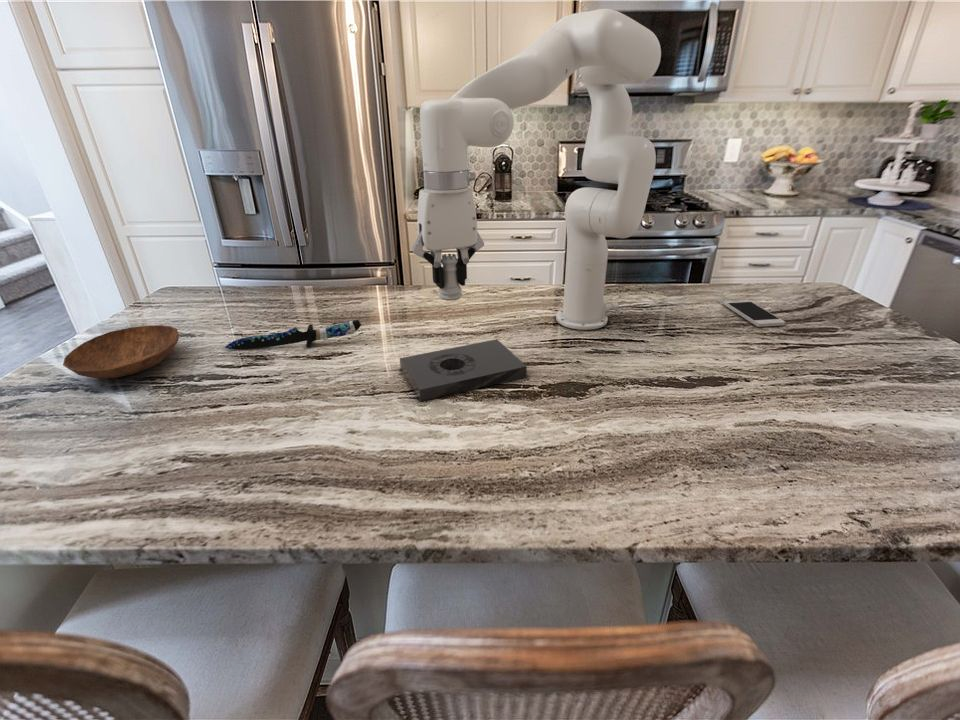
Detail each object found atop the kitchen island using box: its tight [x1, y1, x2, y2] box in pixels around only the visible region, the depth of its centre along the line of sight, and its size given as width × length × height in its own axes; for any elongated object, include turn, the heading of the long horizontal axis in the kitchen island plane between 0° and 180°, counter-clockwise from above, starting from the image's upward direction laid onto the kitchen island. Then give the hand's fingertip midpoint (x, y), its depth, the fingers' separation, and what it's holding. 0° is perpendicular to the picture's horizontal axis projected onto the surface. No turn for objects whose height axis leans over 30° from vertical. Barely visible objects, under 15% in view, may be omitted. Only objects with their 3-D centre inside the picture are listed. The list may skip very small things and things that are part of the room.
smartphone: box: [723, 299, 786, 328], centre depth 126 cm, size 7×15×1 cm, turn 6°
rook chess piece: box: [438, 253, 463, 302], centre depth 92 cm, size 4×4×8 cm
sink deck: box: [399, 339, 528, 402], centre depth 100 cm, size 22×14×2 cm, turn 113°
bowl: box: [62, 324, 180, 380], centre depth 105 cm, size 20×22×5 cm
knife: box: [225, 319, 362, 351], centre depth 113 cm, size 31×3×4 cm, turn 93°
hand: (450, 284), depth 93 cm, fingers closed on rook chess piece, 3 cm apart
